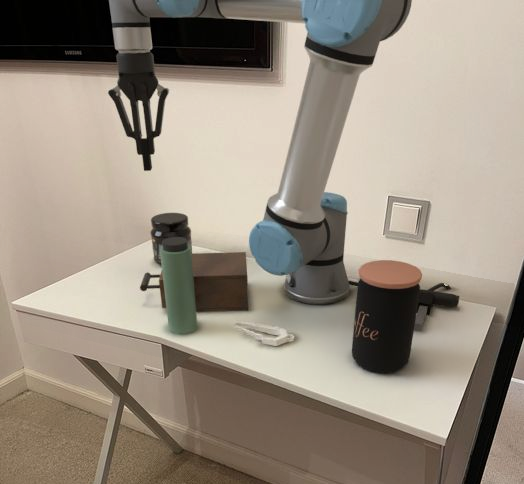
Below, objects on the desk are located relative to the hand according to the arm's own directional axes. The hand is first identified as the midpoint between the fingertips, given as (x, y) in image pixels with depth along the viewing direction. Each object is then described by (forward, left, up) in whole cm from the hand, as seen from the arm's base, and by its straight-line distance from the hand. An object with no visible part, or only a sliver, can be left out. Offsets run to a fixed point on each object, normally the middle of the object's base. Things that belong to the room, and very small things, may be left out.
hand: (148, 169), depth 123 cm
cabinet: (-17, +9, -26) cm, 33 cm away
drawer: (-13, +10, -26) cm, 30 cm away
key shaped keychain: (-34, +23, -27) cm, 49 cm away
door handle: (-61, +3, -27) cm, 67 cm away
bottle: (-17, +23, -26) cm, 39 cm away
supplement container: (+1, -10, -27) cm, 28 cm away
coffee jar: (-58, +25, -27) cm, 68 cm away
